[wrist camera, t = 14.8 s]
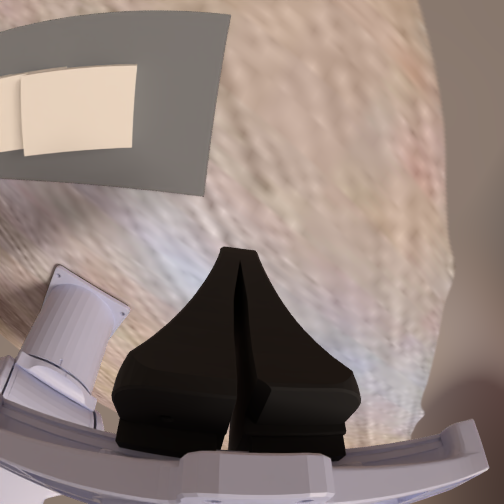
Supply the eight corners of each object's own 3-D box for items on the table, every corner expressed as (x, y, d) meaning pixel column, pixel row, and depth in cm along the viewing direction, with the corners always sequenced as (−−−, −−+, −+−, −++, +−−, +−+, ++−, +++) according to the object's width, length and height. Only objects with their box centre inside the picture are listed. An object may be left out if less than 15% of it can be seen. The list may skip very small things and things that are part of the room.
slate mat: (231, 15, 15) (230, 14, 14) (204, 194, 21) (203, 196, 21) (-72, 59, 11) (-75, 60, 11) (-62, 175, 18) (-65, 176, 18)
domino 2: (137, 65, 14) (20, 76, 12) (131, 147, 17) (24, 156, 15) (137, 63, 16) (29, 73, 13) (132, 139, 19) (31, 147, 16)
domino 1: (62, 68, 14) (-32, 86, 11) (62, 144, 17) (-26, 156, 14) (67, 66, 15) (-22, 82, 13) (66, 137, 18) (-18, 149, 15)
